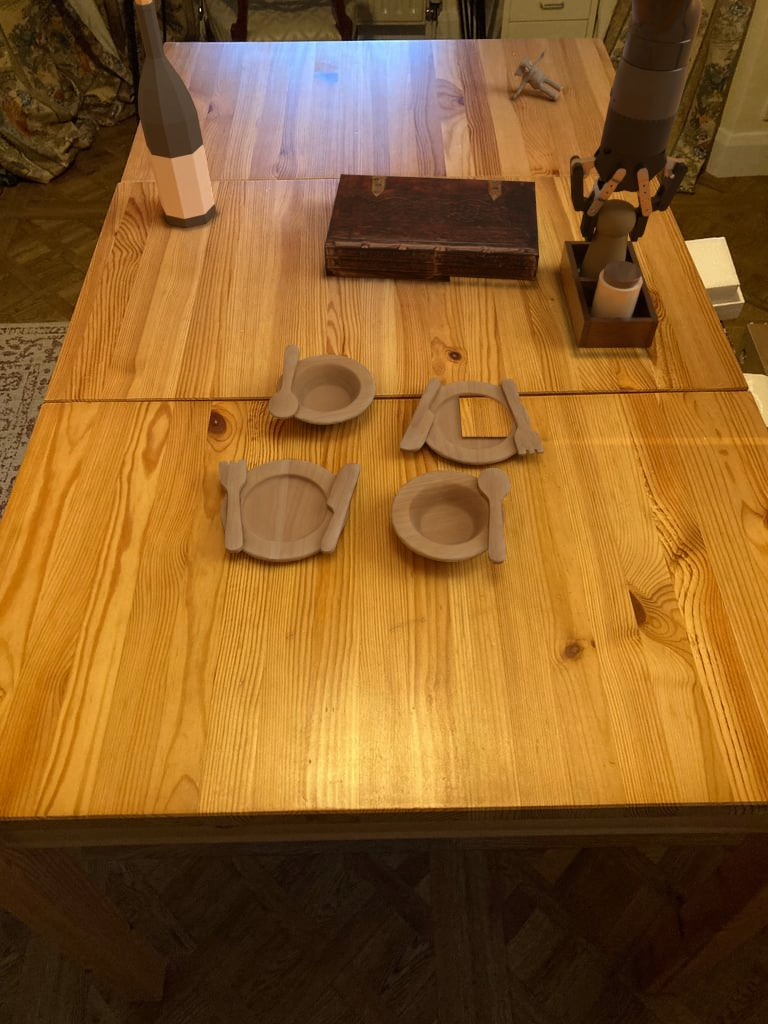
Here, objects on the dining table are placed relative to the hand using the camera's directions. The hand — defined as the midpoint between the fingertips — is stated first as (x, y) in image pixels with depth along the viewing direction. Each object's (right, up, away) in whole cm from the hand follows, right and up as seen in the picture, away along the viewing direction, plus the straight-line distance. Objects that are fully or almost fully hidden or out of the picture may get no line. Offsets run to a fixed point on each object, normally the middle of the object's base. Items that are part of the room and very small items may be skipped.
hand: (610, 238), depth 99 cm
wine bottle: (-59, +10, +19) cm, 63 cm away
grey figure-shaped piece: (-1, +43, +44) cm, 61 cm away
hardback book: (-22, +4, +14) cm, 26 cm away
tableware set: (-29, -30, -13) cm, 44 cm away
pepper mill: (0, -4, +5) cm, 7 cm away
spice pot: (0, -11, +1) cm, 11 cm away
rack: (0, -8, +4) cm, 9 cm away
